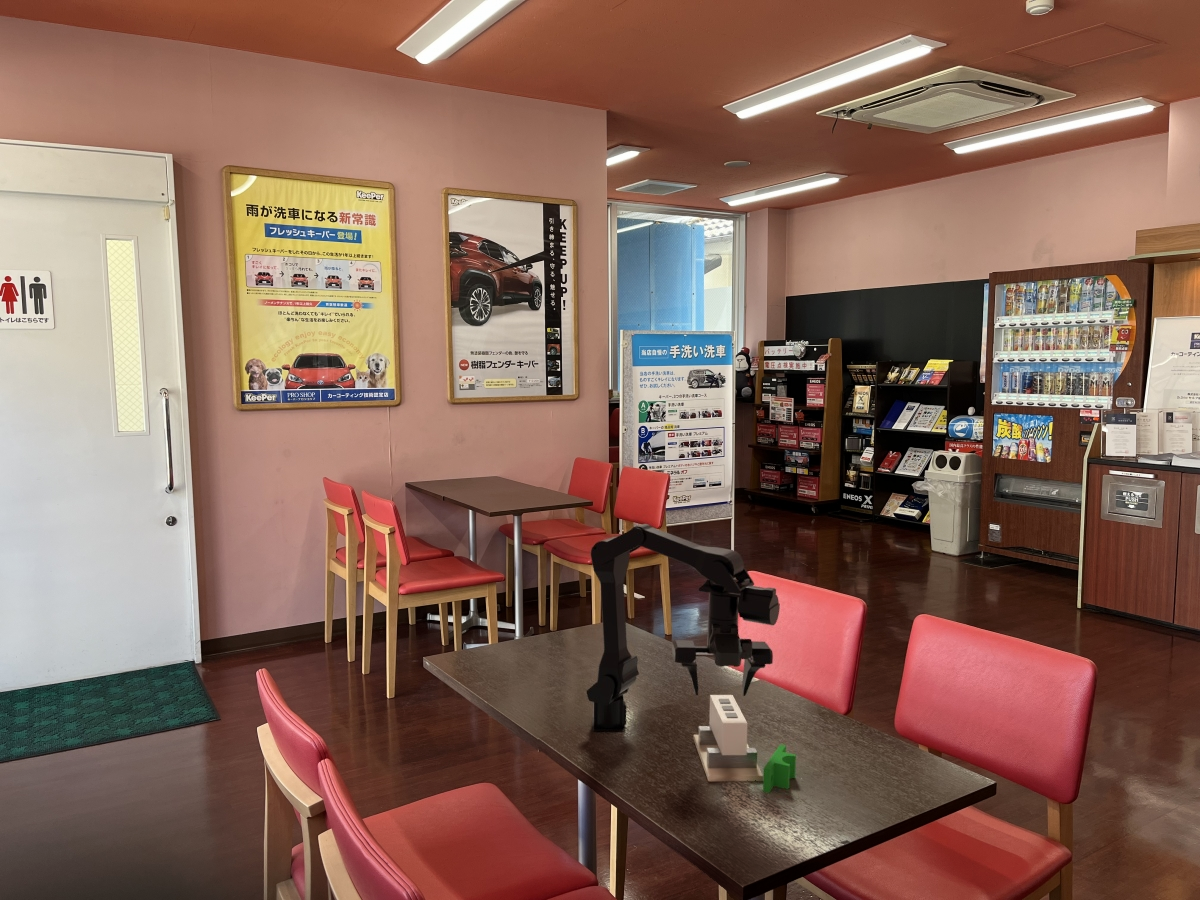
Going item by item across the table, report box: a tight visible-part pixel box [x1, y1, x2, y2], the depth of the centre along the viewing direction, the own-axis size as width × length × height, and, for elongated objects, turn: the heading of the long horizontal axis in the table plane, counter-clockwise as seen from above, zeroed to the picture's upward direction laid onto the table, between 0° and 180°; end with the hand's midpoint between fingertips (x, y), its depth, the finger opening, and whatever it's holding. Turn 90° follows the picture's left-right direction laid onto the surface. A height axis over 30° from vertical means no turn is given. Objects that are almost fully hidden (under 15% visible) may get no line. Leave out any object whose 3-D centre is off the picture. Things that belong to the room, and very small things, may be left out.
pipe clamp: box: [762, 744, 797, 794], centre depth 153 cm, size 11×4×5 cm, turn 153°
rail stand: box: [693, 725, 764, 782], centre depth 161 cm, size 10×18×4 cm, turn 2°
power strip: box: [708, 694, 748, 755], centre depth 161 cm, size 4×14×6 cm, turn 2°
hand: (720, 695), depth 163 cm, fingers open, 9 cm apart
